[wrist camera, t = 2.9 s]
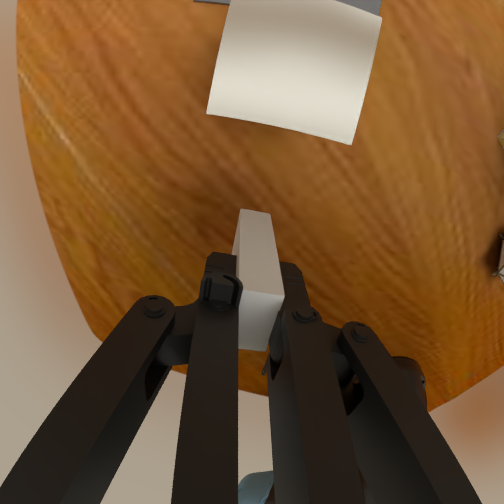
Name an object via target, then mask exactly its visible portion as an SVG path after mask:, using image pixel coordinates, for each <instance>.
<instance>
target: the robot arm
mask: <svg viewBox="0 0 504 504" xmlns="http://www.w3.org/2000/svg"><path fill="white" fill-rule="evenodd" d="M268 343H269V349H270V352H269V355H268V357H267V360H266V363H265V365H264V368H263V371H262V375H265V373H266V370H267V379H268V394H269V410H270V425H271V441H272V457H273V471H267V472H258V473H252V474H249V475H247V476H245V477H244V478H243V479H242V480H241V482H240V483H239V485H238V349H247V350H255V351H264V352H266V349H267V346H268ZM182 364H188V369H187V377H186V383H185V390H184V397H183V404H182V412H181V419H180V427H179V435H178V443H177V451H176V460H175V469H174V478H173V479H174V480H173V488H172V498H171V504H482V503H481V501H480V499H479V497H478V496H477V494H476V492H475V490H474V488H473V486H472V485H471V483H470V481H469V479H468V478H467V476H466V474H465V473H464V471H463V469H462V467H461V466H460V464H459V462H458V461H457V459H456V457H455V455H454V454H453V452H452V450H451V449H450V447H449V445H448V444H447V442H446V441H445V439H444V437H443V436H442V434H441V433H440V431H439V429H438V428H437V426H436V424H435V423H434V421H433V420H432V418H431V416H430V415H429V413H428V412H427V400H426V391H425V386H426V382H425V377H424V374H423V372H422V370H421V368H420V366H419V364H418V363H417V362H416V361H414V360H412V359H409V358H403V357H395V358H392V357H391V356H390V354H389V353H388V351H387V350H386V349H385V347H384V346H383V344H382V343H381V341H380V340H379V338H378V337H377V336H376V334H375V333H374V332H373V331H372V329H371V328H370V327H368V326H366V325H365V324H362V323H359V322H352V321H351V322H348V323H346V324H345V325H344V326H343V328H342V329H340V328H337V327H334V326H331V325H328V324H326V323H324V322H322V318H321V316H320V314H319V312H317V311H316V310H315V309H314V308H313V307H311V306H310V302H309V298H308V294H307V291H306V287H305V283H304V280H303V276H302V272H301V270H300V269H299V268H298V267H297V266H296V265H295V264H292V263H285V262H279V259H278V254H277V248H276V243H275V237H274V232H273V226H272V221H271V215H270V214H269V213H263V212H258V211H252V210H247V209H240V214H239V219H238V224H237V229H236V234H235V239H234V244H233V249H232V254H225V253H219V252H212V253H211V254H210V255H209V256H208V257H207V261H206V267H205V272H204V277H203V278H202V280H201V286H200V294H199V298H198V299H197V301H195V302H194V303H192V304H189V305H185V306H176V307H174V304H173V303H172V302H171V301H170V300H168V299H166V298H164V297H161V296H157V295H152V296H146V297H143V298H140V299H139V300H138V301H137V302H136V303H135V304H134V305H133V306H132V307H131V309H130V310H129V311H128V312H127V313H126V315H125V316H124V317H123V318H122V320H121V321H120V322H119V323H118V325H117V326H116V327H115V328H114V329H113V331H112V332H111V333H110V334H109V336H108V337H107V338H106V339H105V341H104V342H103V343H102V345H101V346H100V347H99V348H98V350H97V351H96V352H95V354H94V355H93V356H92V357H91V359H90V360H89V361H88V363H87V364H86V365H85V366H84V368H83V369H82V370H81V372H80V373H79V374H78V376H77V377H76V378H75V380H74V381H73V382H72V384H71V385H70V386H69V388H68V389H67V391H66V392H65V393H64V395H63V396H62V397H61V398H60V400H59V401H58V403H57V404H56V405H55V407H54V408H53V409H52V411H51V412H50V414H49V415H48V416H47V418H46V419H45V421H44V422H43V423H42V425H41V426H40V428H39V429H38V431H37V432H36V434H35V435H34V436H33V438H32V439H31V441H30V442H29V444H28V445H27V447H26V449H25V450H24V451H23V453H22V454H21V456H20V457H19V459H18V461H17V462H16V463H15V465H14V466H13V468H12V470H11V471H10V473H9V474H8V476H7V477H6V479H5V481H4V482H3V484H2V486H1V487H0V504H100V503H101V501H102V499H103V497H104V494H105V493H106V491H107V489H108V487H109V485H110V483H111V481H112V479H113V477H114V475H115V474H116V472H117V470H118V468H119V466H120V464H121V462H122V460H123V458H124V456H125V454H126V453H127V451H128V449H129V447H130V445H131V443H132V441H133V439H134V437H135V435H136V434H137V432H138V430H139V428H140V426H141V424H142V422H143V420H144V418H145V416H146V415H147V413H148V411H149V409H150V407H151V405H152V403H153V401H154V400H155V398H156V396H157V394H158V392H159V390H160V389H161V387H162V385H163V383H164V381H165V379H166V377H167V375H168V374H169V371H170V370H171V368H172V366H173V365H182Z"/></svg>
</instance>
